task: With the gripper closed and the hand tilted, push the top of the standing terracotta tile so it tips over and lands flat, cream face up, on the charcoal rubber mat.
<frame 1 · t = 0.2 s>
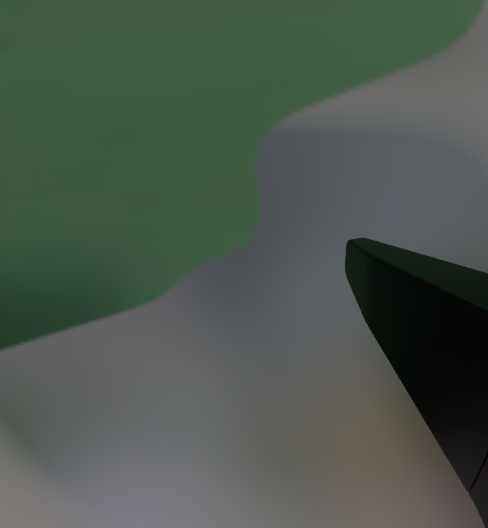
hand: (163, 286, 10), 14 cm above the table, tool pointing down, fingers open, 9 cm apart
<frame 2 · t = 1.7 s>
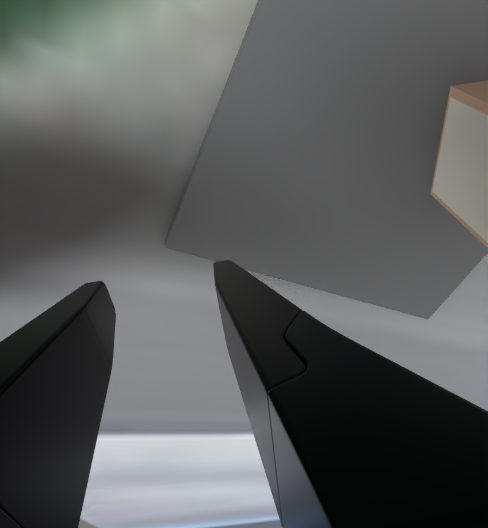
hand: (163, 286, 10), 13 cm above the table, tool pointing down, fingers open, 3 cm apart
mat: (388, 162, 23), on the table
tile: (457, 141, 22), point 1 cm above the table, touching mat
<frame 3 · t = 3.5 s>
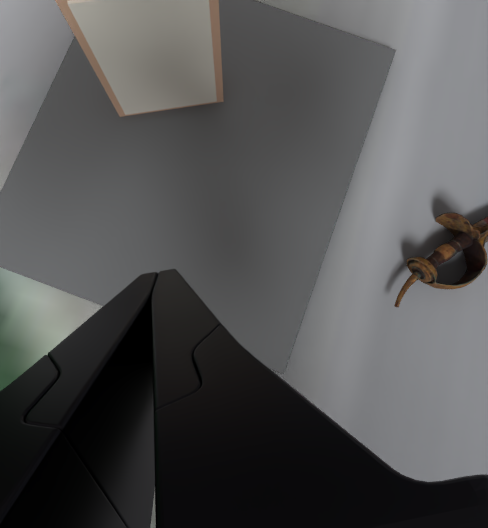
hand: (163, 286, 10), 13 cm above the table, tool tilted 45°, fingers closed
mat: (194, 152, 24), on the table
tile: (169, 93, 24), point 1 cm above the table, touching mat
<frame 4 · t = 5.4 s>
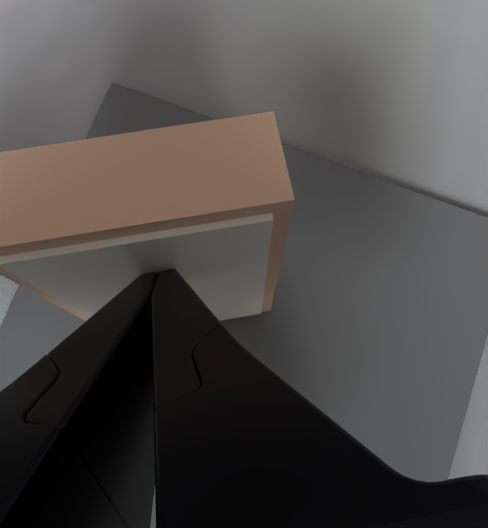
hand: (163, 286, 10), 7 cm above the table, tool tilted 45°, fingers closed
mat: (227, 383, 17), on the table
tile: (190, 298, 16), point 1 cm above the table, tilted 11°, touching mat
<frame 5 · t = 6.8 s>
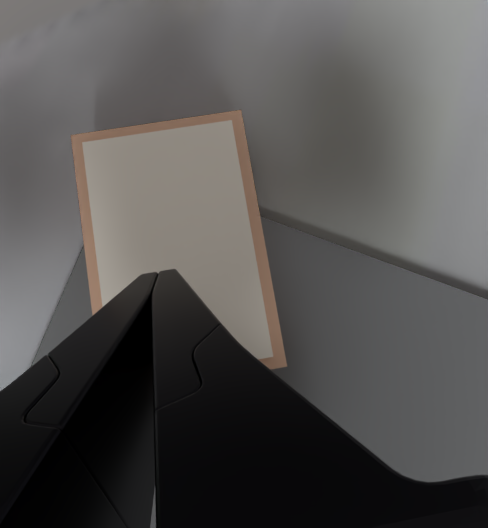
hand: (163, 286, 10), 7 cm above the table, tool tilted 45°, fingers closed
mat: (244, 494, 15), on the table
tile: (198, 378, 14), point 2 cm above the table, tilted 90°, touching mat
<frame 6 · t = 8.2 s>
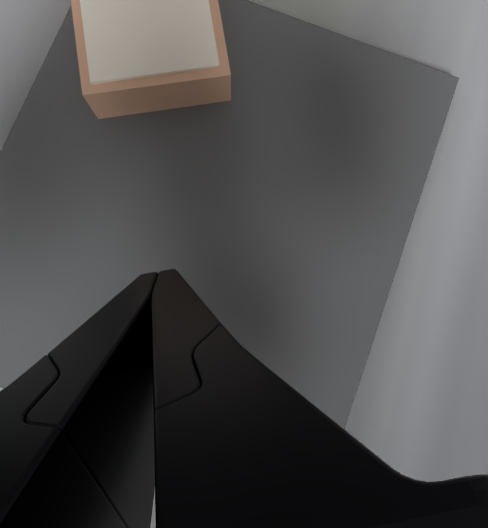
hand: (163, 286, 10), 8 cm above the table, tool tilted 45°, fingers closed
mat: (200, 208, 19), on the table
tile: (161, 98, 18), point 2 cm above the table, tilted 90°, touching mat
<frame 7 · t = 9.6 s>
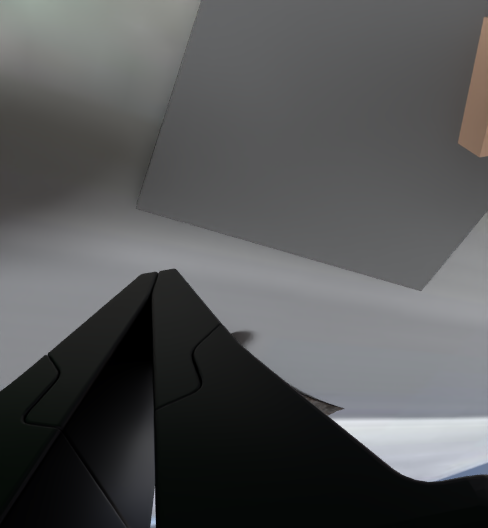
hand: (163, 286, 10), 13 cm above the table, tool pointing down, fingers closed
mat: (374, 113, 22), on the table
tile: (481, 90, 20), point 2 cm above the table, tilted 90°, touching mat
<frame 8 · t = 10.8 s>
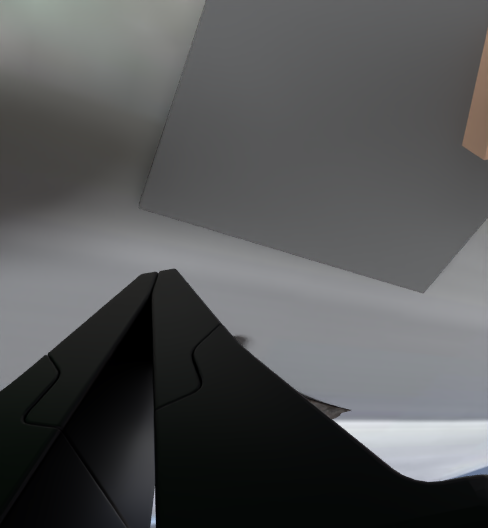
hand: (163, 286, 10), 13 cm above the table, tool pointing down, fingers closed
mat: (378, 115, 22), on the table
tile: (486, 93, 20), point 2 cm above the table, tilted 90°, touching mat
sword: (279, 376, 34), on the table
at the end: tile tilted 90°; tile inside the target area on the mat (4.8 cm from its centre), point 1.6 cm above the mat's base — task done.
